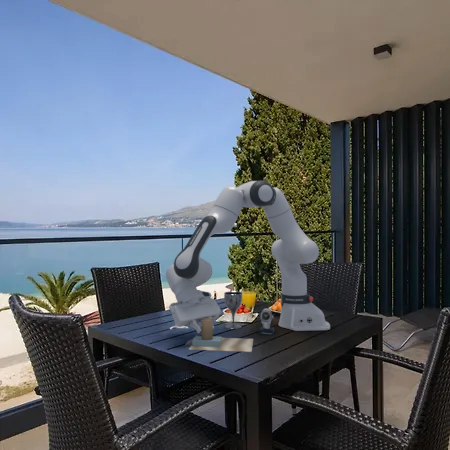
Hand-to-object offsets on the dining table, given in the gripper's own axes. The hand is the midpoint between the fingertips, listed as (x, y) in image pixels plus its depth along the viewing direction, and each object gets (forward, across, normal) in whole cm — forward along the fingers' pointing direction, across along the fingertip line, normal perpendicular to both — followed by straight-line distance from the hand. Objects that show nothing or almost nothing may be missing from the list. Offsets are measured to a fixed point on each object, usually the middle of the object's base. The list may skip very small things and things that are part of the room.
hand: (206, 330), depth 139 cm
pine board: (+7, +4, +2) cm, 9 cm away
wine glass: (-6, +28, +15) cm, 32 cm away
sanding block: (+4, 0, +3) cm, 5 cm away
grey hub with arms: (-16, +6, +26) cm, 30 cm away
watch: (+8, +27, +1) cm, 29 cm away
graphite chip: (0, -4, +7) cm, 8 cm away
